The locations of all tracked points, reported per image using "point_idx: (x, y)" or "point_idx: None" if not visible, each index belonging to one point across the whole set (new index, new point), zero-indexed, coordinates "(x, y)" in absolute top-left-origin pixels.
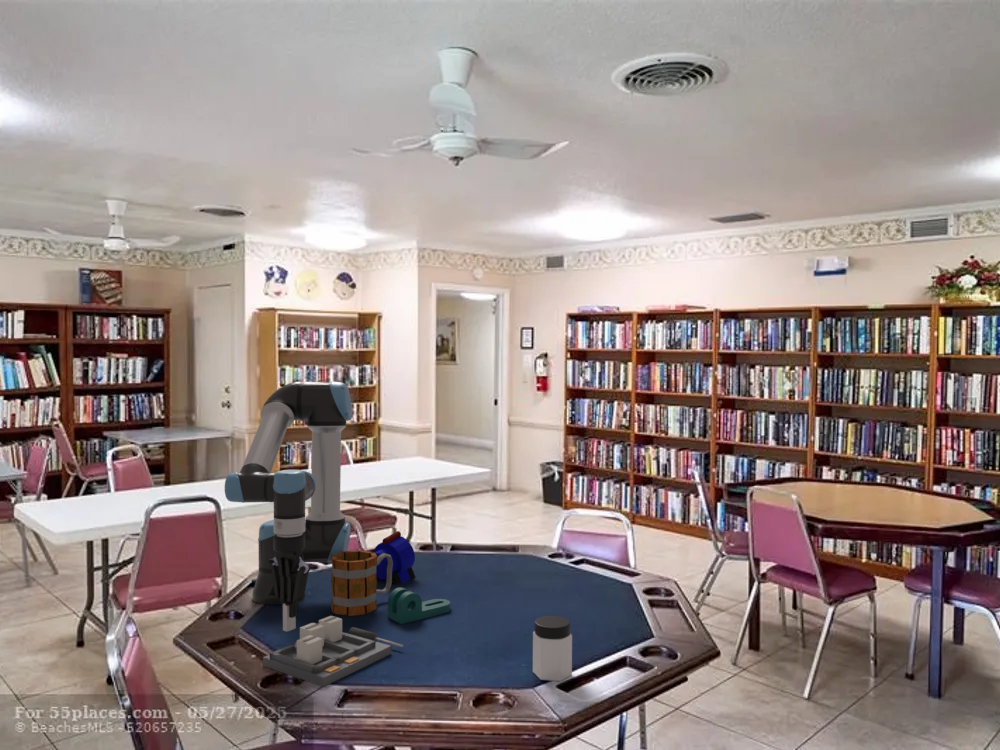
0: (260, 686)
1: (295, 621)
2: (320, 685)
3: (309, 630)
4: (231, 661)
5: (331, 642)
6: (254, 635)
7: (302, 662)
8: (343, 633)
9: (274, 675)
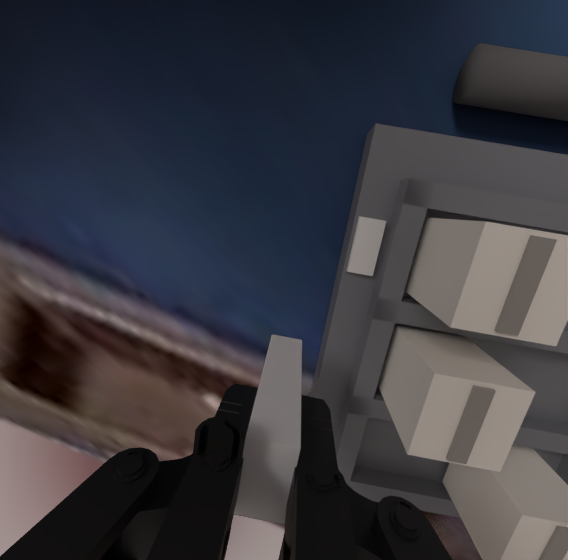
0: None
1: (301, 359)
2: None
3: (483, 467)
4: (188, 455)
5: None
6: (71, 262)
7: None
8: (512, 209)
9: None
